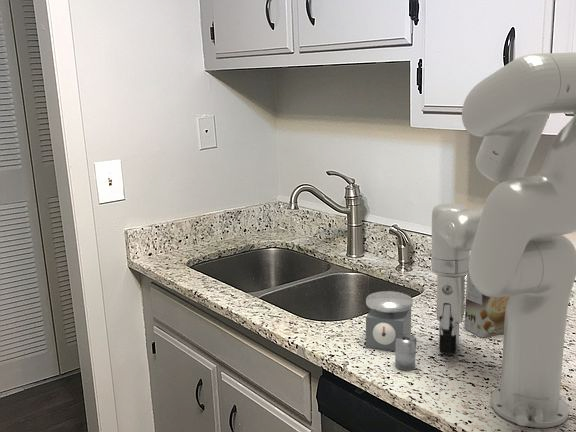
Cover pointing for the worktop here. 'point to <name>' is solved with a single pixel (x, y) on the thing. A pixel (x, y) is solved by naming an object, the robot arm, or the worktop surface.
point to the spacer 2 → (455, 334)
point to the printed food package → (484, 312)
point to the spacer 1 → (405, 352)
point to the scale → (386, 328)
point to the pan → (389, 301)
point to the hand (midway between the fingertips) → (448, 347)
